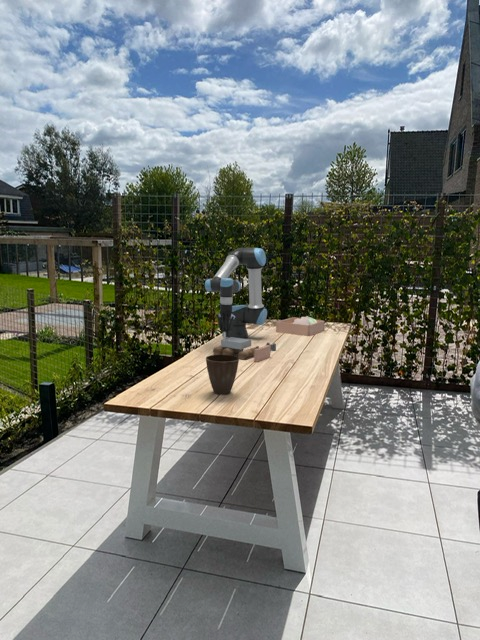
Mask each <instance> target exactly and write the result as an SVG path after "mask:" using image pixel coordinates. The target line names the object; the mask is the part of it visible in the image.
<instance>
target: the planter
mask: <svg viewBox="0 0 480 640" xmlns="http://www.w3.org/2000/svg"><path fill="white" fill-rule="evenodd" d="M297 318H299V319H301V317H295V316H294V317H289V318H286V319H282V320H281V319H280V320H278V321H276V322H275V323H276V324H275V325H276V327H275V332H276V333H279V334H287V335H289V334H290V335H295V336H296V335H297V336H302V337H304V336H306V337H310V336H313V335H315V334H316V335H317V334H319V333H322V332H324V331H325V325H326V324H325V322H326V321H325V320H321V319H315V320H316V321H317V323H314V324H309V325H302V324H293V322H294V320H296V319H297Z"/></svg>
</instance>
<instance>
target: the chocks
mask: <svg viewBox="0 0 480 640" xmlns="http://www.w3.org/2000/svg"><path fill="white" fill-rule="evenodd" d="M238 354H239V353H238ZM238 354H235V355H233V356H237V355H238ZM212 355H214V353H213V354H212ZM221 355H223V354H221ZM250 359H254V356H252V357H249V358H247V359H244V361H247V360H250ZM239 360H241V359H240V358H239Z"/></svg>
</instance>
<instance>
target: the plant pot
mask: <svg viewBox="0 0 480 640" xmlns="http://www.w3.org/2000/svg"><path fill="white" fill-rule="evenodd" d="M239 361H240V359H239V356H237V355H235V356H233V355H213V354H212V355H208V356H206V357H205V362H206V368H207V374H208V378H209V382H210V385H211V388H212V390H213V393H214V394H216V395H220V396H221V395H224V396H225V395H228V394H230V393H231V391H232V390H233V389H232V388H233V386H234V383H235V380H236V377H237V373H238V367H239Z"/></svg>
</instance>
